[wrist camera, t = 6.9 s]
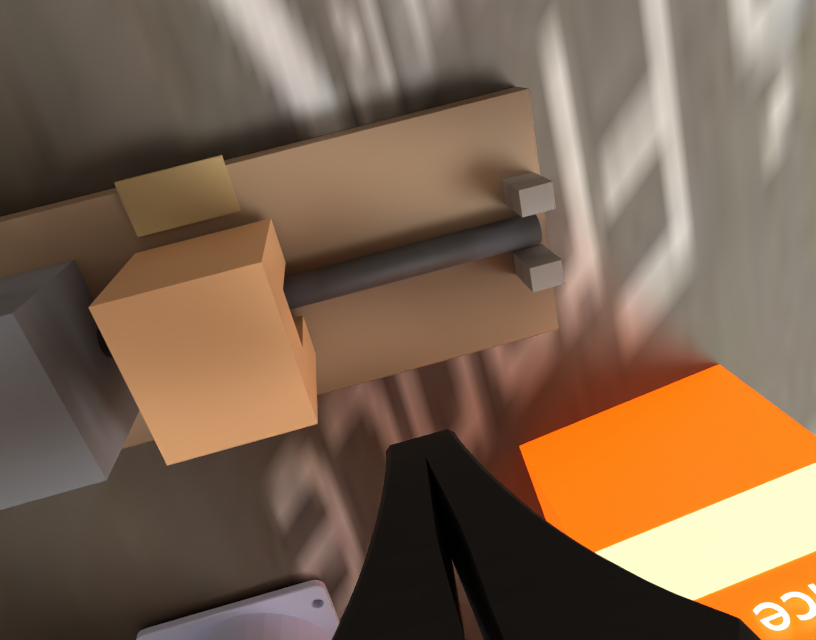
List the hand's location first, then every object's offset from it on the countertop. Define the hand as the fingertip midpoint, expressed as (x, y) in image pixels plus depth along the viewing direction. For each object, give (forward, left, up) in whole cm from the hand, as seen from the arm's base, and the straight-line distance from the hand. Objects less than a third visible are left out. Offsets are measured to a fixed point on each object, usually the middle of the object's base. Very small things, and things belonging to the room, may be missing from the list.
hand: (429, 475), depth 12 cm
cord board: (+2, +3, -9) cm, 10 cm away
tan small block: (+2, +4, -8) cm, 9 cm away
